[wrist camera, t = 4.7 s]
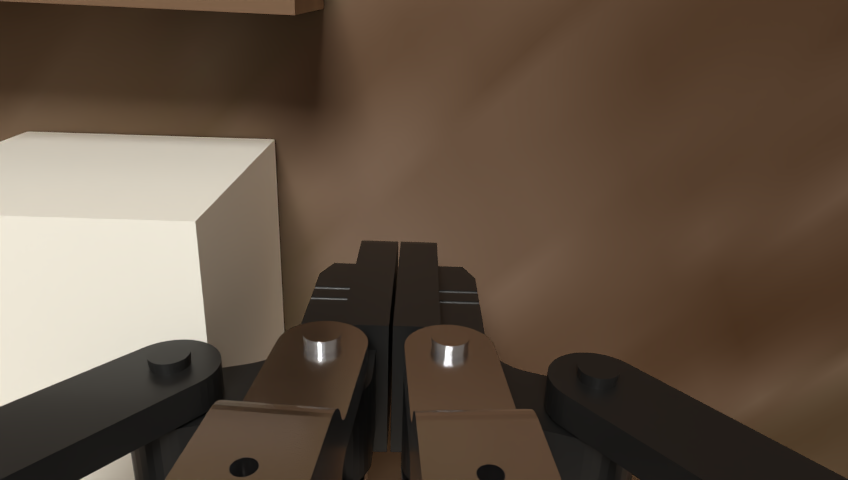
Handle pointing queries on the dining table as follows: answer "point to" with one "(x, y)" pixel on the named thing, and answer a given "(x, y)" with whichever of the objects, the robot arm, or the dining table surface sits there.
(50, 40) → the dining table surface
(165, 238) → the block
